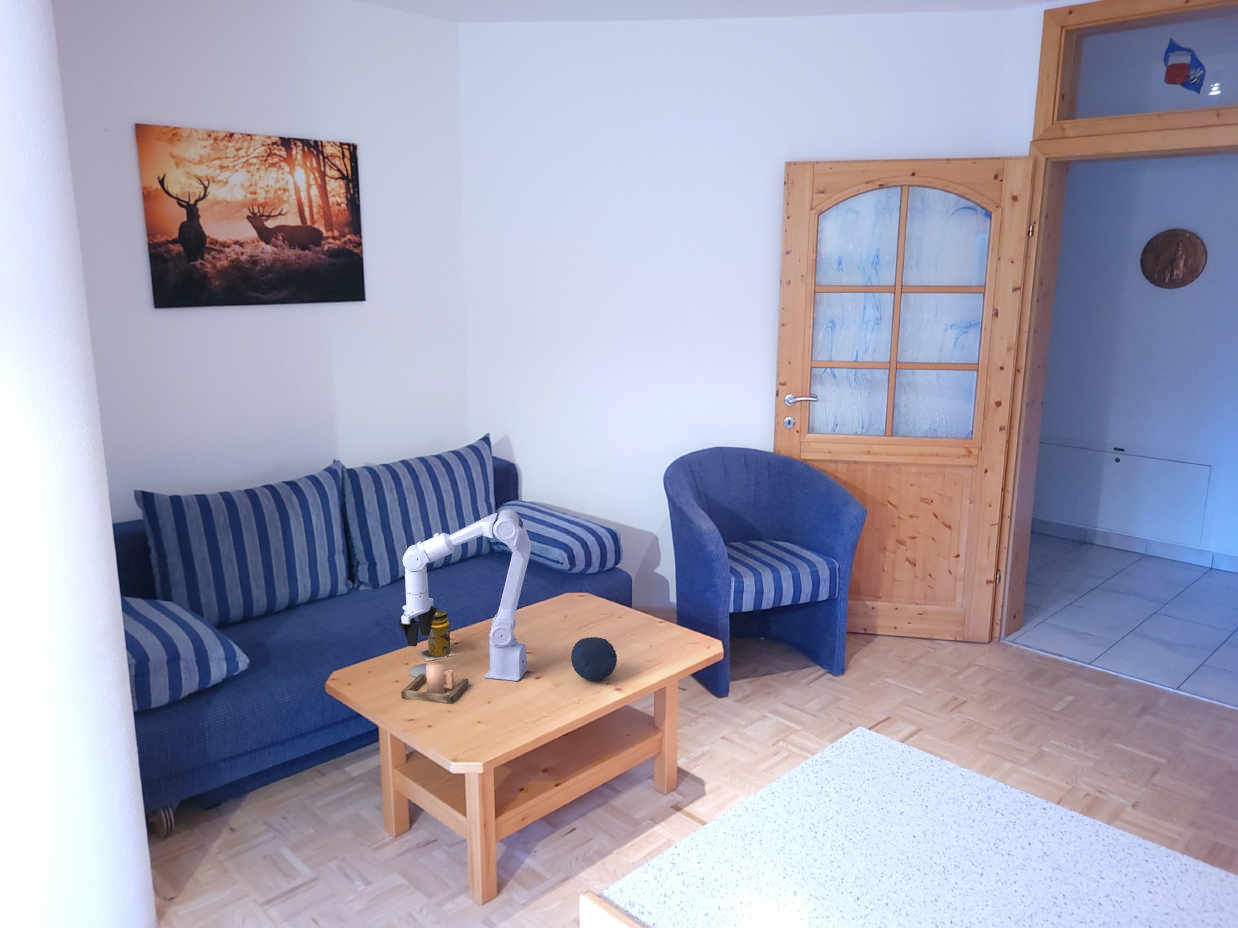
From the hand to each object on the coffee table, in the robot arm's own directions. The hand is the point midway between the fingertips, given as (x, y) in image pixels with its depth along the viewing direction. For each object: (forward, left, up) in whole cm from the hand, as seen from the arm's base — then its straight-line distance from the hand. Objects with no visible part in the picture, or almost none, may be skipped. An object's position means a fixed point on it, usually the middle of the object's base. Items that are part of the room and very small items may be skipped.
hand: (419, 640), depth 246 cm
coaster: (0, -2, -10) cm, 10 cm away
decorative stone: (-45, -9, -10) cm, 47 cm away
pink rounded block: (-9, +8, -10) cm, 15 cm away
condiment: (+2, -14, -10) cm, 18 cm away
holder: (-8, +8, -10) cm, 15 cm away
